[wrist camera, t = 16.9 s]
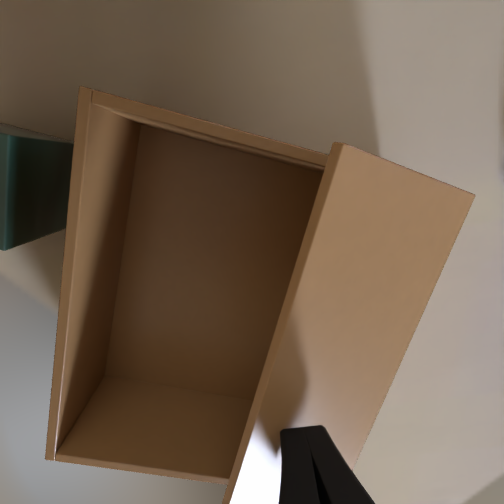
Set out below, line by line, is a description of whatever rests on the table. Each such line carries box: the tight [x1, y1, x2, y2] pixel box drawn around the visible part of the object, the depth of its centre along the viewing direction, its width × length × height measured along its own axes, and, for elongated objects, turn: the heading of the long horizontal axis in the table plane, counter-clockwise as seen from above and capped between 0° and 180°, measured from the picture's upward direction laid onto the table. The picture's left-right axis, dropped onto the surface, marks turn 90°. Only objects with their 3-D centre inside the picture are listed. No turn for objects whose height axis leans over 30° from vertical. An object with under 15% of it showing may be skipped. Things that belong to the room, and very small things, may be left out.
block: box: [0, 123, 74, 251], centre depth 12 cm, size 4×4×5 cm
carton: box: [45, 86, 329, 485], centre depth 14 cm, size 15×13×5 cm
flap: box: [222, 142, 475, 504], centre depth 10 cm, size 15×6×1 cm, turn 166°
